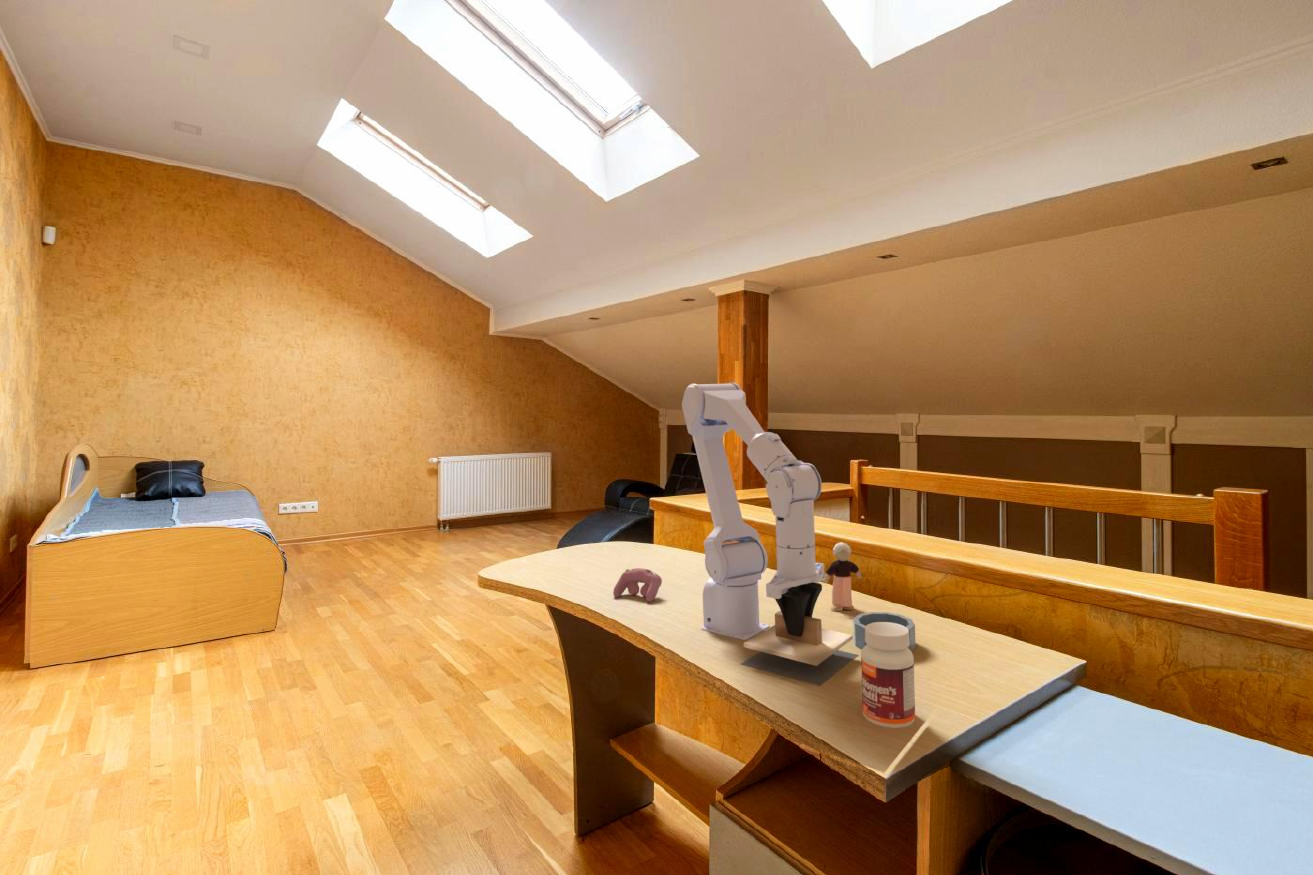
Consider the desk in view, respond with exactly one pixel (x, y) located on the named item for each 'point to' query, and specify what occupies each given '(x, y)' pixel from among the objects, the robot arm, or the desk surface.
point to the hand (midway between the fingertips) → (798, 632)
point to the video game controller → (638, 576)
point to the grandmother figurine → (841, 577)
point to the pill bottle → (888, 675)
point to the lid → (799, 641)
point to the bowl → (874, 617)
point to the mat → (801, 666)
